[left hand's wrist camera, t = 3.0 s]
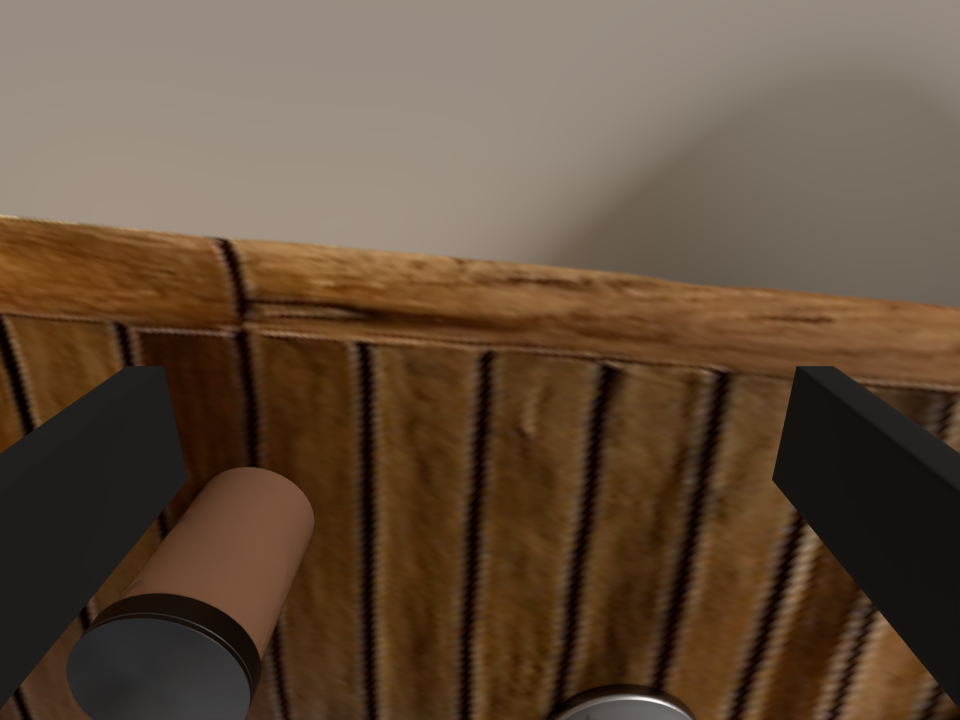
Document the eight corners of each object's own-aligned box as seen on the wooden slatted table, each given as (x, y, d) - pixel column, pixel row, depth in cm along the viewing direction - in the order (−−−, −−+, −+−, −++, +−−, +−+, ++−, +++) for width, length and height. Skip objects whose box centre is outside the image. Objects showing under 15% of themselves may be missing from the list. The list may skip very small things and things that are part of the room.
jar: (193, 461, 45) (66, 610, 31) (315, 473, 46) (244, 625, 32) (200, 558, 49) (89, 731, 35) (314, 568, 49) (249, 743, 35)
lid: (75, 584, 33) (53, 610, 31) (259, 601, 33) (247, 627, 31) (98, 712, 36) (79, 742, 35) (263, 725, 37) (252, 755, 35)
